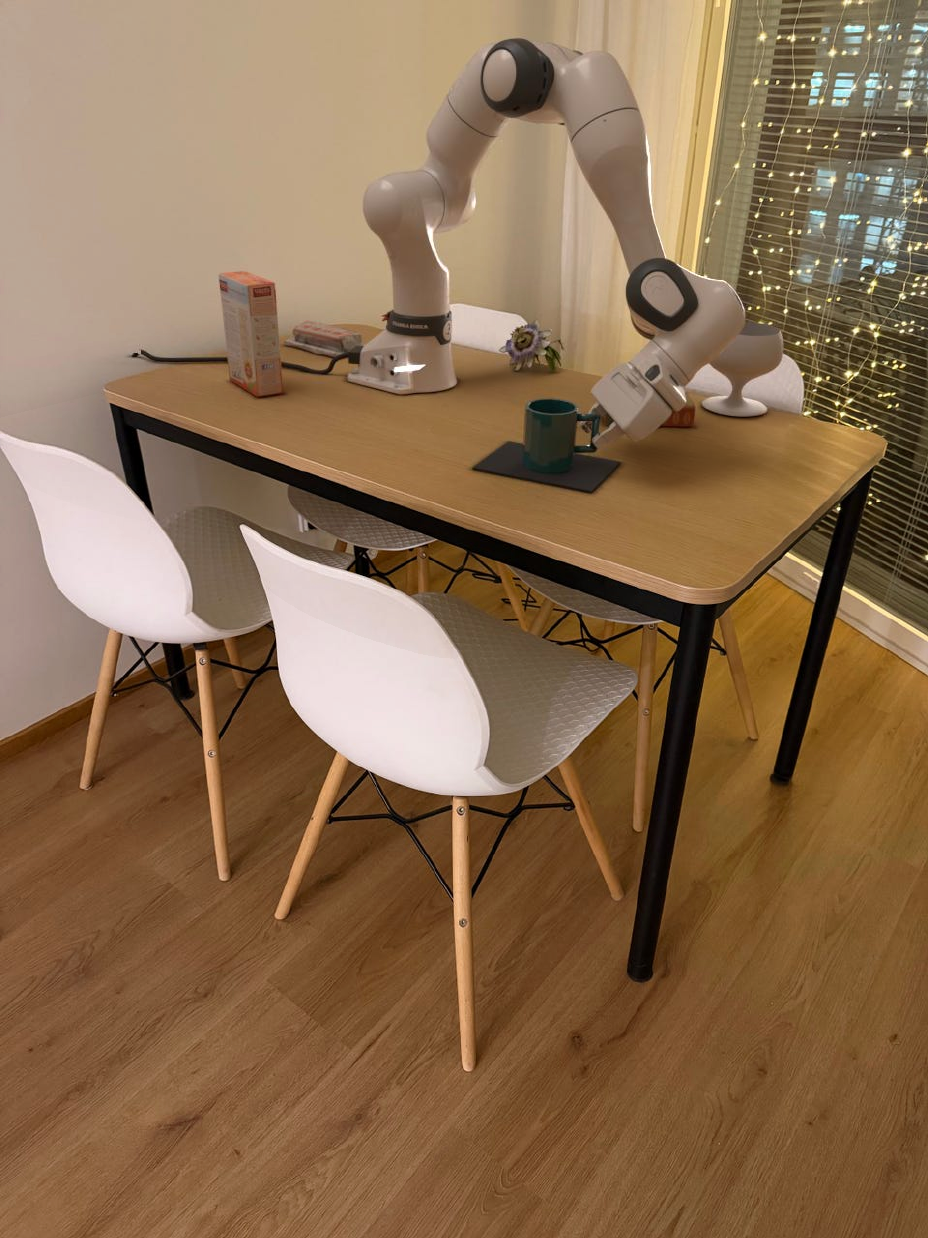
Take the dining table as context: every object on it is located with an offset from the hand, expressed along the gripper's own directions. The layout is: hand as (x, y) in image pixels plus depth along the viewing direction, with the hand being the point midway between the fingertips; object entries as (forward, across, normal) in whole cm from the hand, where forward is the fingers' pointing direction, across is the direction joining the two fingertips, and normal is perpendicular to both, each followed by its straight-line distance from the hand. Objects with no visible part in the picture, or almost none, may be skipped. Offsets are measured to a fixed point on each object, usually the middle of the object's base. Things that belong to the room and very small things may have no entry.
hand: (588, 437), depth 145 cm
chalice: (-22, -27, +29) cm, 45 cm away
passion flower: (+2, -58, +6) cm, 58 cm away
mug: (+6, 0, 0) cm, 6 cm away
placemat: (+8, 0, -1) cm, 8 cm away
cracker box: (+42, -48, -35) cm, 73 cm away
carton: (-8, -22, +15) cm, 28 cm away
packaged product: (+33, -77, -25) cm, 87 cm away
